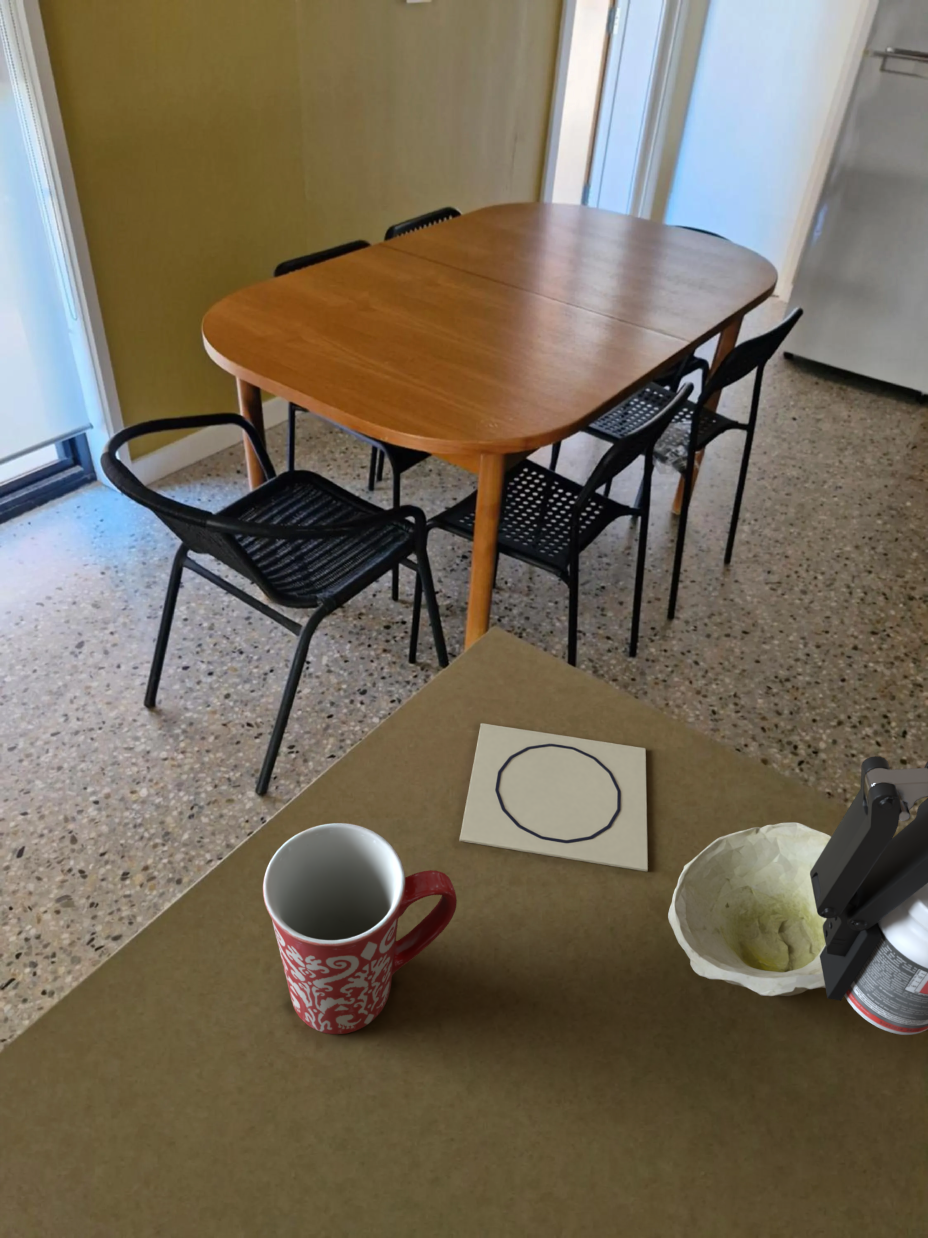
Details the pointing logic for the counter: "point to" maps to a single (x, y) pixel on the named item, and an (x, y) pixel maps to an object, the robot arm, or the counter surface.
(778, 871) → the bowl
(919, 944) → the pill bottle
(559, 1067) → the counter surface
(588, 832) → the beige flat square sheet
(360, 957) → the mug
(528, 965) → the counter surface
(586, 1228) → the counter surface
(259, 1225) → the counter surface
